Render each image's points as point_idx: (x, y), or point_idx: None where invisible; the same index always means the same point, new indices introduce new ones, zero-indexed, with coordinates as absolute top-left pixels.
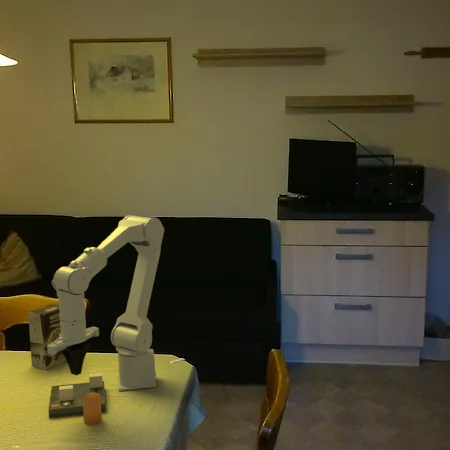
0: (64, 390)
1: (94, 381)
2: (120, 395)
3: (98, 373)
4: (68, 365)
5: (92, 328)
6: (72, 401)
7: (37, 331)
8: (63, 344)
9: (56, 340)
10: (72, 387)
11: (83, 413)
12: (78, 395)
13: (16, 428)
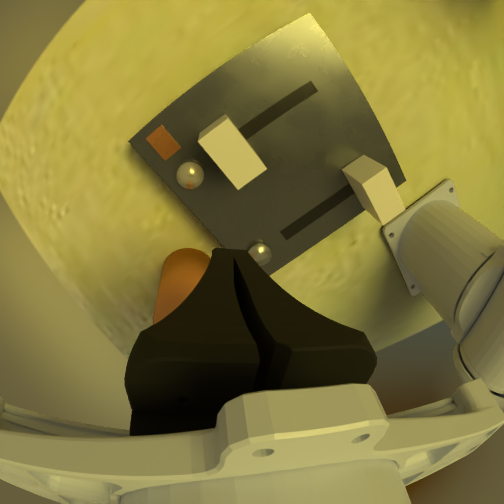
0: (213, 159)
1: (360, 193)
2: (358, 244)
3: (398, 200)
4: (206, 269)
5: (470, 447)
6: (223, 176)
7: None
8: (68, 500)
9: (50, 472)
10: (244, 183)
11: (168, 268)
12: (276, 164)
13: (42, 102)
